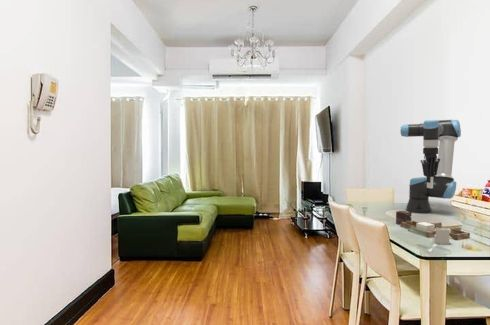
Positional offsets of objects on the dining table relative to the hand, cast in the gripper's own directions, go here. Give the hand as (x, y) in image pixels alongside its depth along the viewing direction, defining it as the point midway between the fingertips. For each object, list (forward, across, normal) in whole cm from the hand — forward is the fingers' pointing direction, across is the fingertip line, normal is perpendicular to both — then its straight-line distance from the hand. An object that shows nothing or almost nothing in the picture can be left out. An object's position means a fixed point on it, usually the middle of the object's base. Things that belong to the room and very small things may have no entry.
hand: (429, 187), depth 181 cm
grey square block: (+21, +25, +27) cm, 42 cm away
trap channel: (+21, +11, +12) cm, 27 cm away
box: (+21, +13, -6) cm, 26 cm away
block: (+21, +17, +12) cm, 29 cm away
